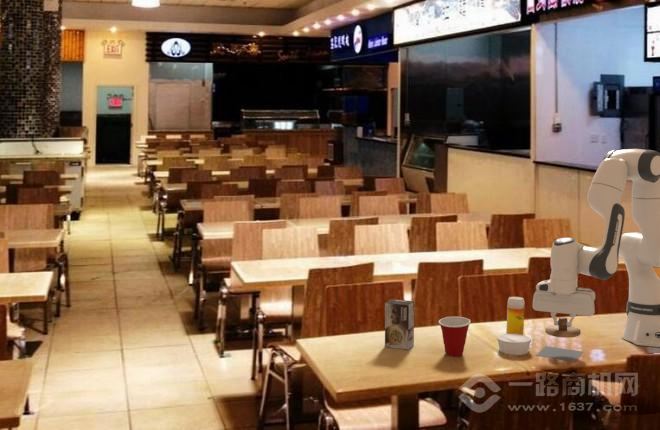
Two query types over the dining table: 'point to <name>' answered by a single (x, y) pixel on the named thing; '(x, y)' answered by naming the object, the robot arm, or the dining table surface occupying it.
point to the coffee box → (399, 324)
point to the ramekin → (514, 344)
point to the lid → (562, 329)
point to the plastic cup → (454, 334)
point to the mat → (559, 353)
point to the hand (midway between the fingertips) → (562, 325)
